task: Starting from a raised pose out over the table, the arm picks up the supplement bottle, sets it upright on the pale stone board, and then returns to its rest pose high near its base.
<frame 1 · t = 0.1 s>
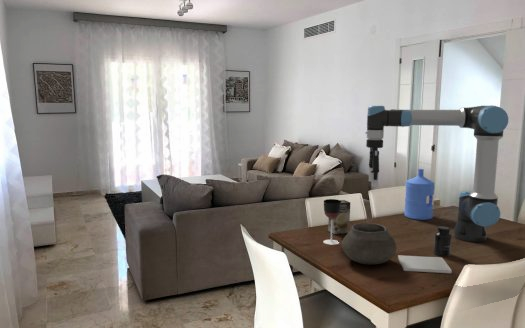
hand: (373, 183, 200), 28 cm above the table, fingers open, 13 cm apart
supplement bottle: (441, 254, 187), on the table
stone board: (423, 265, 174), on the table
coffee box: (338, 232, 219), on the table
wineglass: (331, 242, 203), on the table
clay pot: (368, 261, 178), on the table
water jug: (418, 217, 248), on the table
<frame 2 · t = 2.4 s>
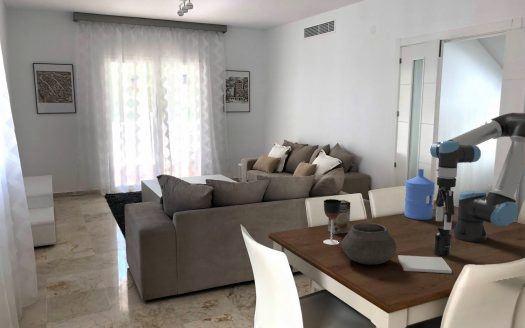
hand: (443, 225, 185), 13 cm above the table, fingers open, 13 cm apart
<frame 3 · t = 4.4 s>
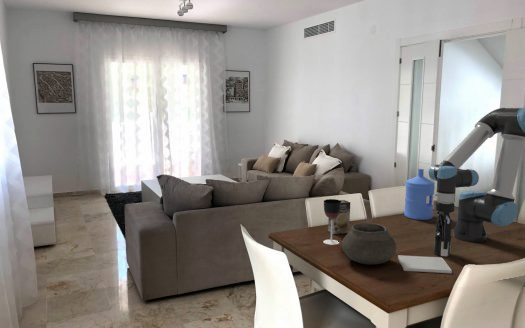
hand: (441, 252, 187), 1 cm above the table, fingers closed on supplement bottle, 7 cm apart
supplement bottle: (441, 254, 187), on the table, touching gripper
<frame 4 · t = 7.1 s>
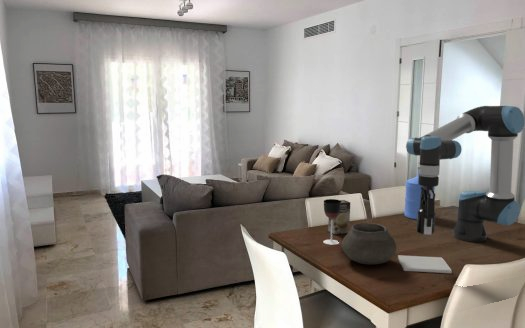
hand: (425, 231, 172), 14 cm above the table, fingers closed on supplement bottle, 7 cm apart
supplement bottle: (425, 232, 172), point 14 cm above the table, touching gripper
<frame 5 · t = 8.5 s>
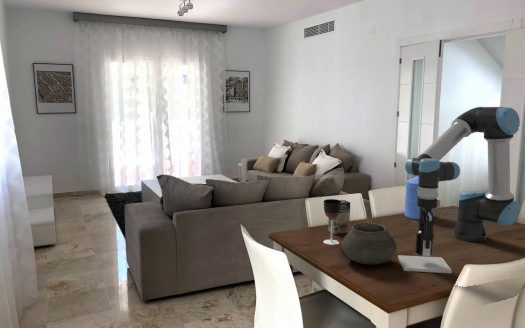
hand: (424, 252, 173), 5 cm above the table, fingers closed on supplement bottle, 7 cm apart
supplement bottle: (423, 254, 173), point 5 cm above the table, touching gripper
when the fingers open (3 cm above the table, at t = 9.7 s): supplement bottle drops 2 cm, resting on stone board.
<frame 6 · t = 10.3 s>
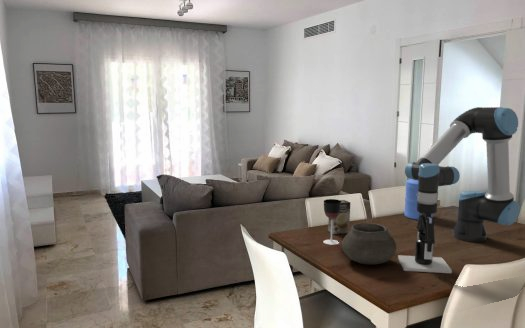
hand: (424, 253, 173), 5 cm above the table, fingers open, 13 cm apart
supplement bottle: (423, 262, 174), point 1 cm above the table, touching stone board
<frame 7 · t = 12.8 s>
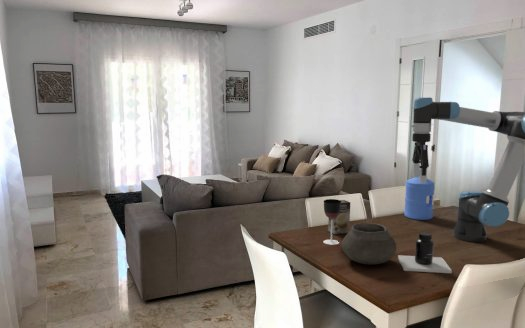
hand: (419, 180, 191), 32 cm above the table, fingers open, 13 cm apart
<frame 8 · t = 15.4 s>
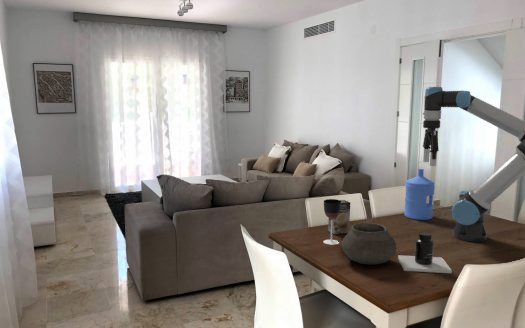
hand: (429, 164, 205), 37 cm above the table, fingers open, 13 cm apart
at the end: supplement bottle inside the target area on the stone board (0.2 cm from its centre), point 1.1 cm above the stone board's base; supplement bottle tilted 0°; the gripper is holding nothing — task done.
